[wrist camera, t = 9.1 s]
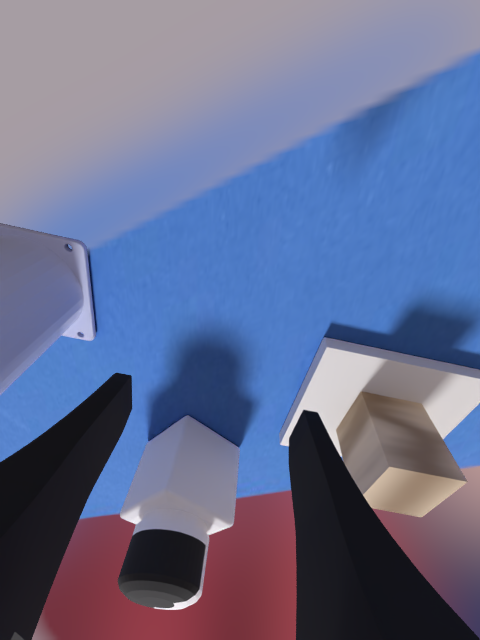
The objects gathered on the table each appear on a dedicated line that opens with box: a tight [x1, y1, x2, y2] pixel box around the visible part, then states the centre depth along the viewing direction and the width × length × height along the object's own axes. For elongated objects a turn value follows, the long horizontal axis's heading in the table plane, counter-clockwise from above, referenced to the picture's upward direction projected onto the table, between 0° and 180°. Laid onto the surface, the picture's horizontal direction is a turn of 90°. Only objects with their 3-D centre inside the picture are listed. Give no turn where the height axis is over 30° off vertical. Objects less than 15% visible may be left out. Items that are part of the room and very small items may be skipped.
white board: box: [279, 337, 480, 456], centre depth 24 cm, size 13×12×1 cm
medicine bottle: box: [118, 415, 240, 610], centre depth 25 cm, size 7×7×12 cm
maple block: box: [336, 391, 467, 517], centre depth 21 cm, size 5×5×6 cm
